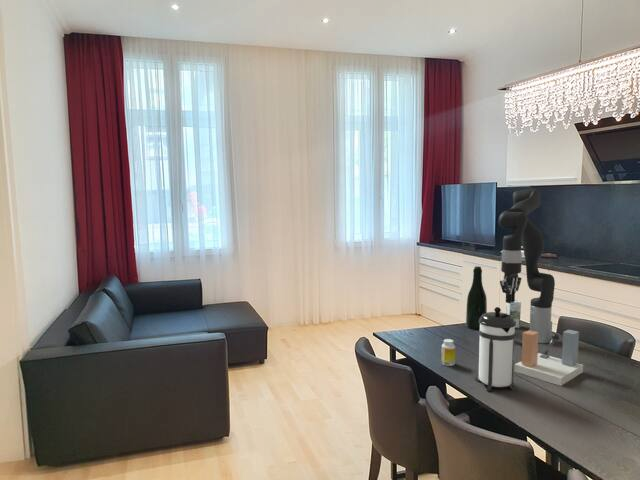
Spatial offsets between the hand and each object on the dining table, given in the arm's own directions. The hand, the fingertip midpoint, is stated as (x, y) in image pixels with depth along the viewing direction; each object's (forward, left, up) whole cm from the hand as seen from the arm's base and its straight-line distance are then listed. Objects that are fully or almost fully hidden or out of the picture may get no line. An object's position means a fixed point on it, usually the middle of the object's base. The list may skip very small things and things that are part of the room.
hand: (510, 302), depth 186 cm
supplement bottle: (+21, -12, -27) cm, 37 cm away
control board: (-10, +13, -27) cm, 32 cm away
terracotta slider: (-2, +9, -24) cm, 25 cm away
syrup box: (-45, -39, -27) cm, 65 cm away
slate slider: (-18, +15, -24) cm, 33 cm away
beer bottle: (-27, -47, -27) cm, 61 cm away
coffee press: (+19, +11, -27) cm, 35 cm away
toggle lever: (-15, +5, -23) cm, 28 cm away
